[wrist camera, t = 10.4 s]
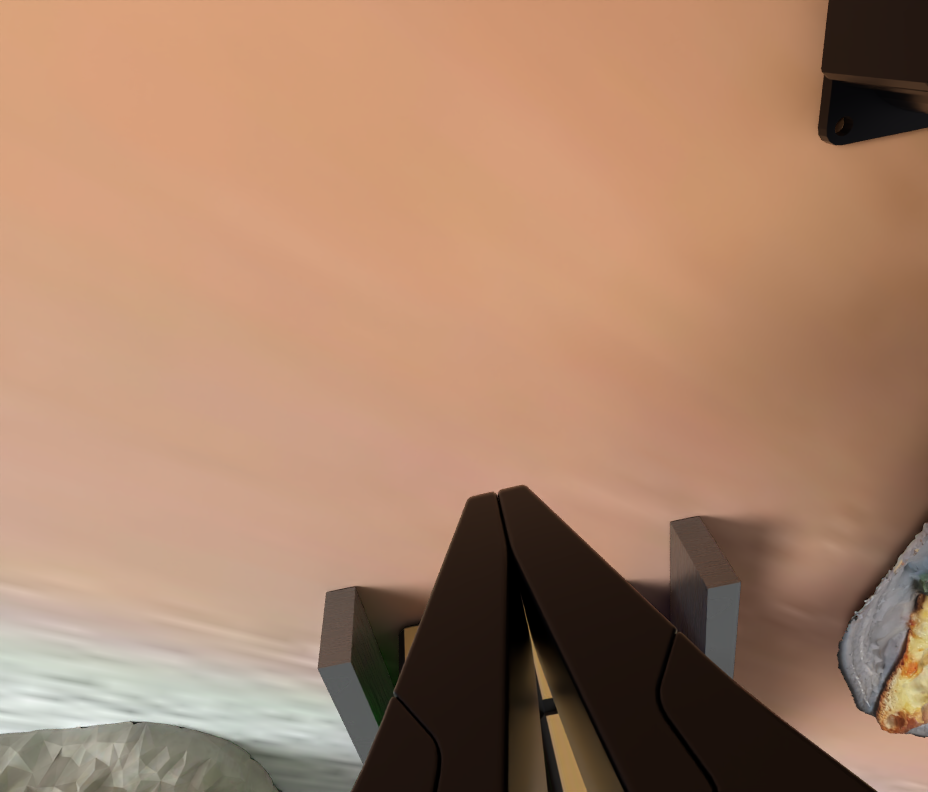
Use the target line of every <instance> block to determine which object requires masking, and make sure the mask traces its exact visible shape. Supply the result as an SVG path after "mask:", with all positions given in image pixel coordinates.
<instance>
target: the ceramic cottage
mask: <svg viewBox="0 0 928 792" xmlns="http://www.w3.org/2000/svg"><path fill="white" fill-rule="evenodd" d="M250 756H251V755H249V753H248V752H247V751H245V750H244V749H242V748H240V747H239V746H237V745H235V744H233V743H232V742H229V741H227V740H224V739H221V738H219V737H215V736H212V735H209V734H206V733H202V732H199V731H196V730H191V729H187V728H182V729H181V728H180V727H178V726H173V725H168V724H160V723H150V722H140V723H137V724H134V725H133V723H132V722H122V723H117V724H104V725H95V726H89V727H87V728H80V727H76V728H69V729H45V730H36V731H31V732H23V733H6V734H0V792H279V791H278V790H277V788H276V787H275V786H274V787H273V782H272V779H271V778H270V777H269V774H268V773H267V772H266V771H265V769H264V768H263V767H262V766H261V765H260V764H259V763H258V762H257V761H256V762H255V760H252V759H250Z"/></svg>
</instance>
